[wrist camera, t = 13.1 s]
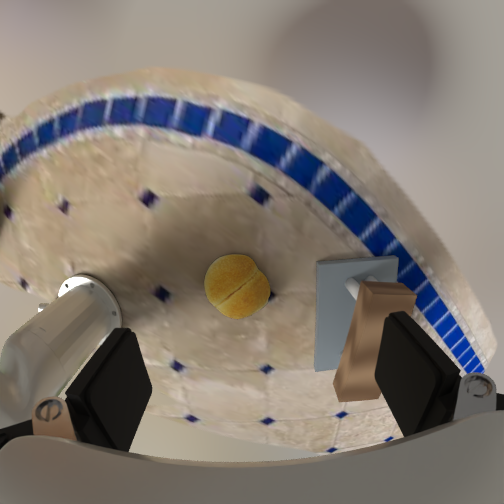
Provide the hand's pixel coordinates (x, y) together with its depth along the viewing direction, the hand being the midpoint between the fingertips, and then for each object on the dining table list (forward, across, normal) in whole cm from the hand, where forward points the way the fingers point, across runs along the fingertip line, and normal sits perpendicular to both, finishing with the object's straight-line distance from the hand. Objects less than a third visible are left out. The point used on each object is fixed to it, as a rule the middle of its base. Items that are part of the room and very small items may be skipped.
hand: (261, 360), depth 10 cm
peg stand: (+28, -14, +15) cm, 35 cm away
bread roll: (+29, +3, +8) cm, 30 cm away
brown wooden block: (+22, -14, +15) cm, 30 cm away
